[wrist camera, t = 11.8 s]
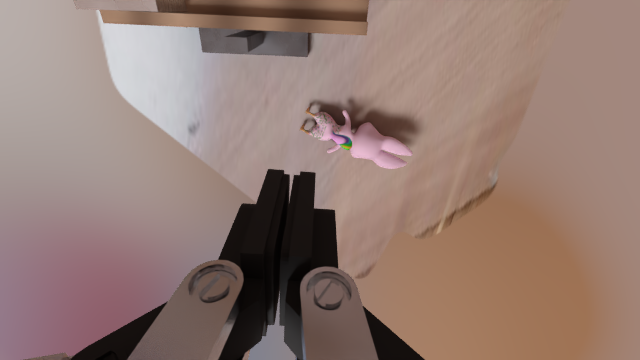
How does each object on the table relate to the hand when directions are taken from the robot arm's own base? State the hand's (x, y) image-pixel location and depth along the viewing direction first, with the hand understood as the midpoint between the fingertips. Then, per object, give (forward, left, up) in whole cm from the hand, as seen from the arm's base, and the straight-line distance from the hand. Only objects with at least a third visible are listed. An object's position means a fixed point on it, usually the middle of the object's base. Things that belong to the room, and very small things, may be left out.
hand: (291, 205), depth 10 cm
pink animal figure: (-6, +8, -28) cm, 30 cm away
